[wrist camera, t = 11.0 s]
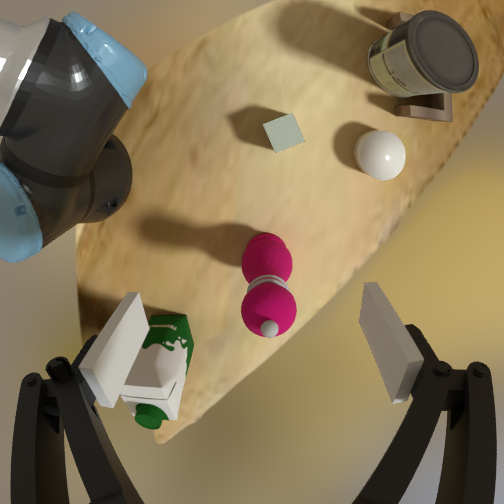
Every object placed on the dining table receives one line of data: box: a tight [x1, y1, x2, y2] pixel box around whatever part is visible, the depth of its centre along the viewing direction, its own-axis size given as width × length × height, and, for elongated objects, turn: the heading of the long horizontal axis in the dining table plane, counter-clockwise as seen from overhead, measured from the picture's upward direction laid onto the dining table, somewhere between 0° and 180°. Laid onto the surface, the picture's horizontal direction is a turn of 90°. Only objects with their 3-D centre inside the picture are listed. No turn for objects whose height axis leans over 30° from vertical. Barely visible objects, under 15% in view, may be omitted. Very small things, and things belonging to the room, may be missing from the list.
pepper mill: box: [241, 233, 297, 338], centre depth 37 cm, size 7×7×20 cm
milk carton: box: [120, 315, 194, 429], centre depth 44 cm, size 9×9×20 cm
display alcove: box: [387, 12, 452, 122], centre depth 31 cm, size 8×16×5 cm, turn 4°
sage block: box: [263, 113, 305, 153], centre depth 37 cm, size 4×4×5 cm
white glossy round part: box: [354, 130, 406, 180], centre depth 38 cm, size 7×7×4 cm
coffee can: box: [367, 10, 479, 97], centre depth 28 cm, size 10×10×14 cm
